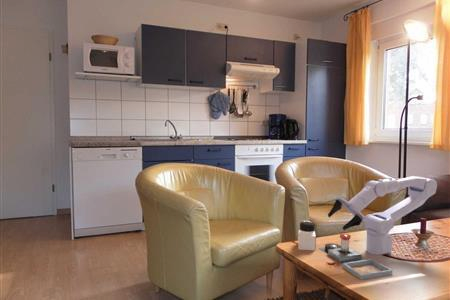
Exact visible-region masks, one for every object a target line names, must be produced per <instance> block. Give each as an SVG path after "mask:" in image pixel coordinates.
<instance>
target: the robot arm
mask: <svg viewBox="0 0 450 300" xmlns="http://www.w3.org/2000/svg"><path fill="white" fill-rule="evenodd" d="M403 188H408V189H407V191H408V192H407V195H408V197H406V198H404V199H403V200H402V201H400V202H398V203H396V204H394V205H392V206H391V207H389V208H388V209H386V210H384V211H380V212H374V213H372V214H369V213H368V214H367V215H364V214H363V213H362V212H361V211H363V210H364V209H365V208H366V207H367V206H369V204H371V203H372V202H373V201H375V199H376V198H378V197H382V198H383V197H384V196H385V195H386V194H389V193H390V194H391V193H396V192H398V190H400V189H403ZM437 189H438V183H437V181H436V180H435V179H434V178H426V177H421V176H417V175H412V176H410V175H409V176H408V177H404V178H400V179H396V178H393V177H390V176H388V177H387V178H385V179H382V178H379V179H378V180H377V181H376V180H369V181H366V182H365V185H364V187H363V188H362V189H361V190H360V191H359V192H358V193H357V194H356V195H354V197H352V198H351V199H350V200H346V199H345V198H343V197H341V196H340V195H337V197H335V199H334V201H335V202H334V203H333V206H332V208H331V209H330V210H329V212H328V213H327V217H328V218H331V217H333V215H334V214H335V213H337V212H338V211H340V210H341V209H342V207H343V208H344V209H346V210H347V211H348V212H349V213H350V214H351V215H353V217H352V218H351V219H350V220H349V221H347V222H346V223H345V224H344V225H343V226H342V230H343V231H346V230H347V229H350V228H353V227H356V226H357V227H358V226H360V225H361V223H362V225H363V227H364V228H365V231H366V245H365V246H366V247H365V248H366V249H365V251H366V252H367V253H369V254H372V255H375V256H377V255H378V256H380V255H381V256H382V255H385V254H391V255H392V256H393V255H394V253H393V252H392V251H393V249H392V248H393V247H392V246H393V238H392V236H391V234H390V231H391V230H392V229H394V226H395V223H394V222H396V221H398V220H399V219H401V218H402V217H405V216H407V215H408V214H409V213H411V212H413V211H414V210H416V209H418V208H419V207H421V206H423V205H424V204H425V202H426V201H427V200H428V199H429V198H431V197H432V196H433V195H436V192H437Z"/></svg>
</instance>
